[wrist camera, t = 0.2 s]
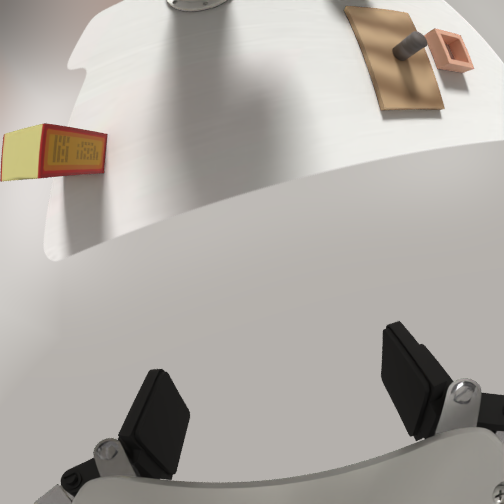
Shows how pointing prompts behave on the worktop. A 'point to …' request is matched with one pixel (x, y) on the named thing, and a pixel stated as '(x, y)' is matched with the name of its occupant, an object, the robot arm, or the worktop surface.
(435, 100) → the post board
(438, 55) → the collar
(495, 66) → the worktop surface
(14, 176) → the baking soda box
